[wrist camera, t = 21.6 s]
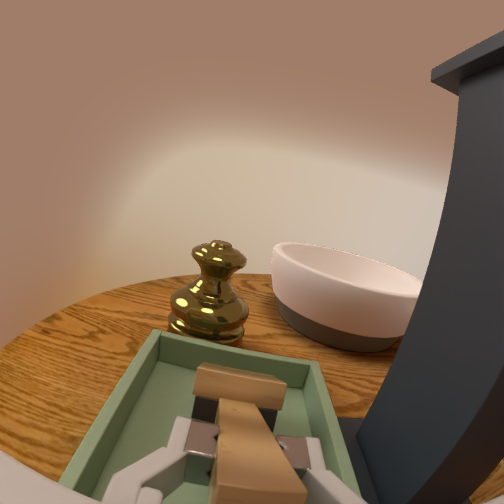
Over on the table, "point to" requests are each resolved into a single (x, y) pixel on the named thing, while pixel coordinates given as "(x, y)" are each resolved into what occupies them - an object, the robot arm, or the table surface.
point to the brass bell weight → (211, 298)
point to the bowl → (342, 296)
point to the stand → (449, 322)
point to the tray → (181, 404)
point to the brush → (245, 437)
